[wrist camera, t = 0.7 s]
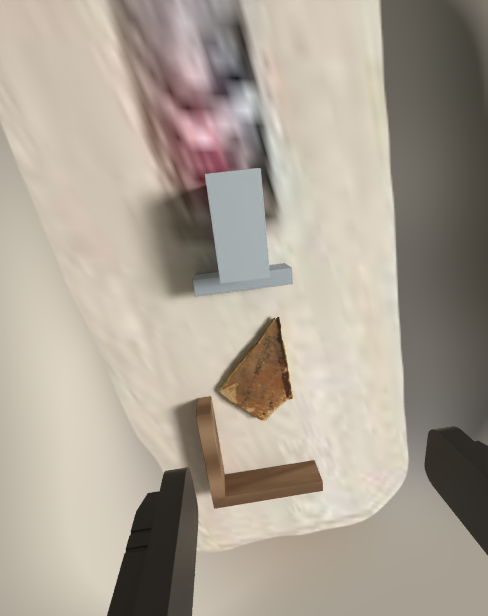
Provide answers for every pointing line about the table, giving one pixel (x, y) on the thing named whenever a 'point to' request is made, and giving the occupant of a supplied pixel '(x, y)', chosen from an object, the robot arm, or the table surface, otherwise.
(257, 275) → the grey inverted t block
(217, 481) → the corner fence
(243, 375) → the shard
